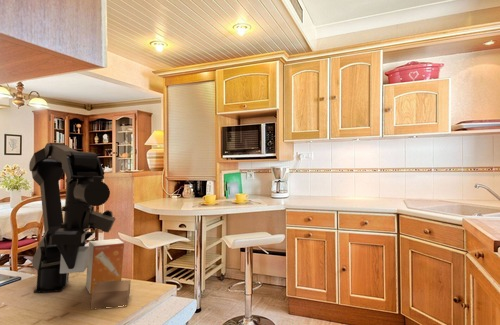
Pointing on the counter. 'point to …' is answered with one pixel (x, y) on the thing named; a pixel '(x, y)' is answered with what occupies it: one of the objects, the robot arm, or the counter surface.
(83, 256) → the cube
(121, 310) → the counter surface
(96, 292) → the base block
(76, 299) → the counter surface
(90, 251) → the small box
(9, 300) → the counter surface
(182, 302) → the counter surface
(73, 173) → the robot arm
